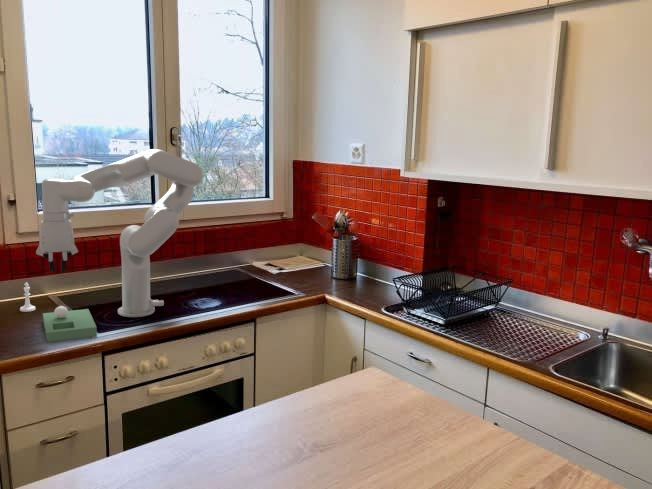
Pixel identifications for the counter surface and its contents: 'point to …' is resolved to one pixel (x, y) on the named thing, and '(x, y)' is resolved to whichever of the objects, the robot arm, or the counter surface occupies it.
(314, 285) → the counter surface
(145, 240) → the robot arm
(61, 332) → the green
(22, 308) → the chess piece
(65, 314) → the ball
